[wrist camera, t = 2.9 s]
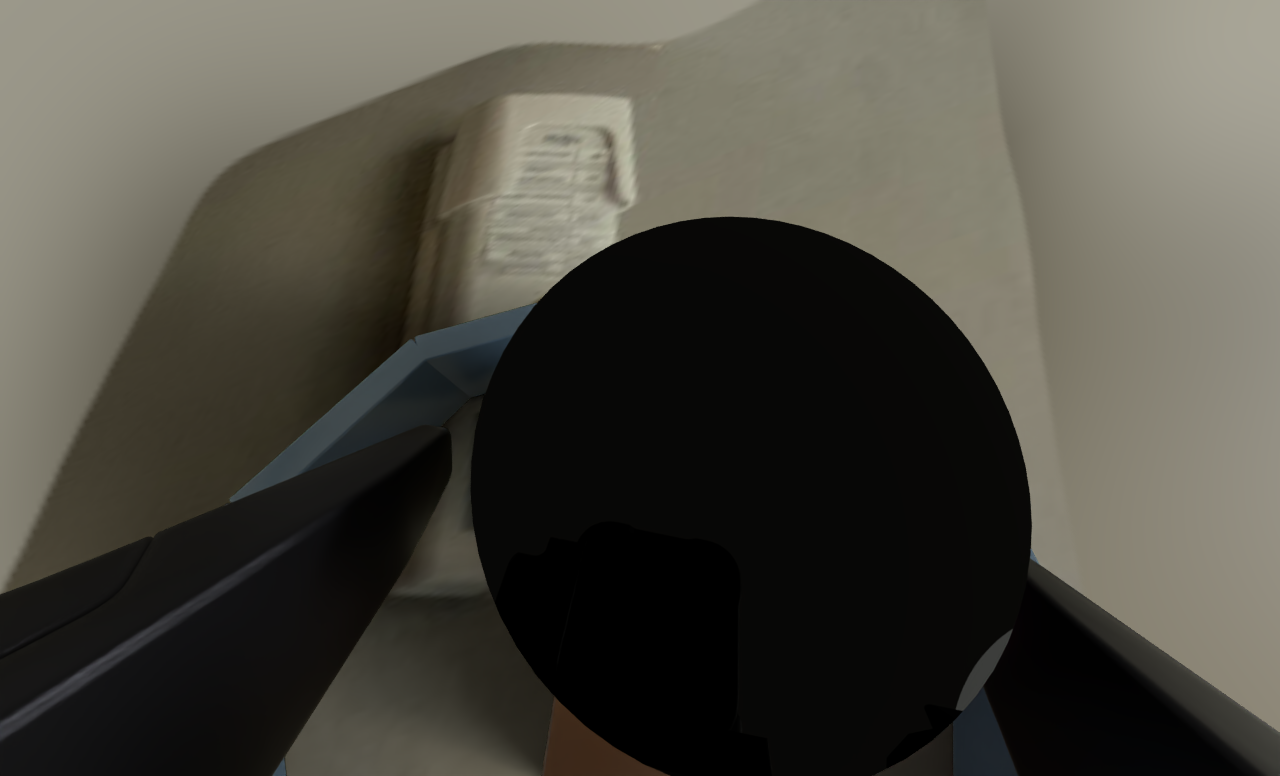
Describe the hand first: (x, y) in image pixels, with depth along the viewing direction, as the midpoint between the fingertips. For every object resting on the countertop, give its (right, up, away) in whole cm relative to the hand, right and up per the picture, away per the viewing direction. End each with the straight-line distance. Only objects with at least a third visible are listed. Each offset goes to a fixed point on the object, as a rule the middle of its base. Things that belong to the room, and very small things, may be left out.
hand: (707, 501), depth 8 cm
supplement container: (0, -2, +8) cm, 8 cm away
